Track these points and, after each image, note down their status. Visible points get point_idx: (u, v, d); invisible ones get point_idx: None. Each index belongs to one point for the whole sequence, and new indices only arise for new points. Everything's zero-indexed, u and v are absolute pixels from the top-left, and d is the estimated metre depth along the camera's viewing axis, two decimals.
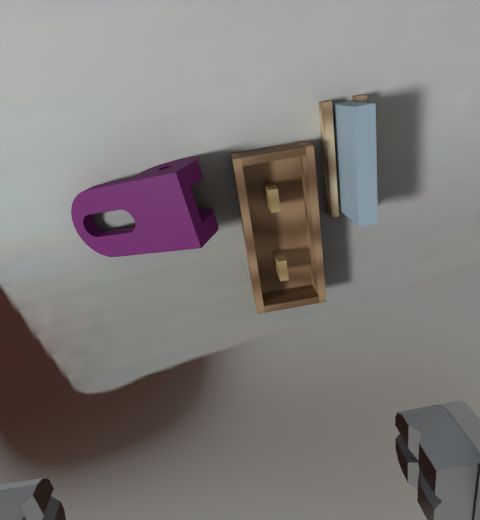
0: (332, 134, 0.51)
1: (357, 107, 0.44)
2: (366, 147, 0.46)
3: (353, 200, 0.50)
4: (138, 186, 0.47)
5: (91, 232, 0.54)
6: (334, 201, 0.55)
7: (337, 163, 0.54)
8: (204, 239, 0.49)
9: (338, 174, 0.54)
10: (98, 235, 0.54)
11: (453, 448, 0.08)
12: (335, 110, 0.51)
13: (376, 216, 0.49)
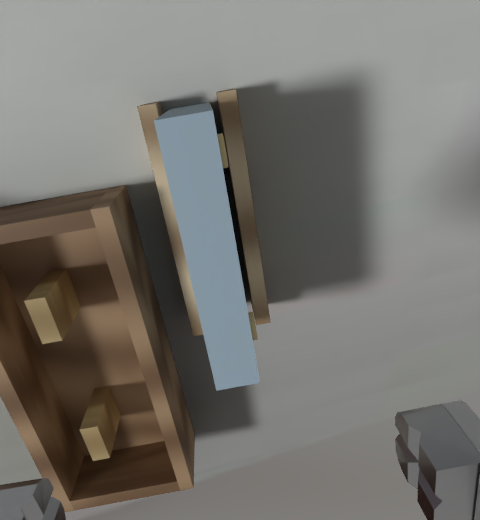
0: None
1: (163, 122, 0.16)
2: (206, 221, 0.18)
3: None
4: None
5: None
6: (194, 306, 0.27)
7: None
8: None
9: None
10: None
11: (453, 448, 0.08)
12: None
13: (254, 369, 0.21)
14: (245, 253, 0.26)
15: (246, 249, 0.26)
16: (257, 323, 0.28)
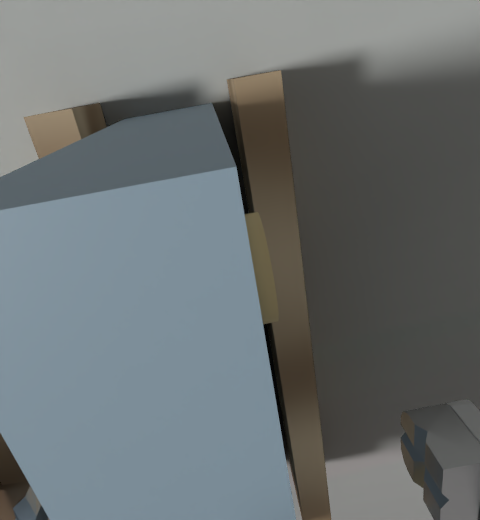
0: None
1: None
2: None
3: None
4: None
5: None
6: None
7: None
8: None
9: None
10: None
11: (459, 447, 0.08)
12: None
13: None
14: (289, 418, 0.12)
15: (291, 411, 0.12)
16: None
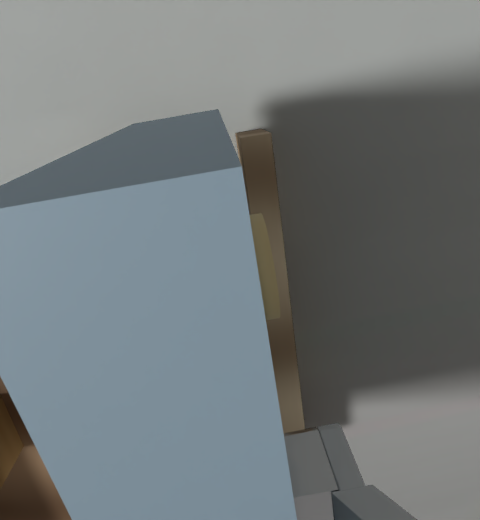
0: None
1: None
2: None
3: None
4: None
5: None
6: None
7: None
8: None
9: None
10: None
11: (312, 474, 0.08)
12: None
13: None
14: (276, 381, 0.16)
15: (278, 376, 0.16)
16: None
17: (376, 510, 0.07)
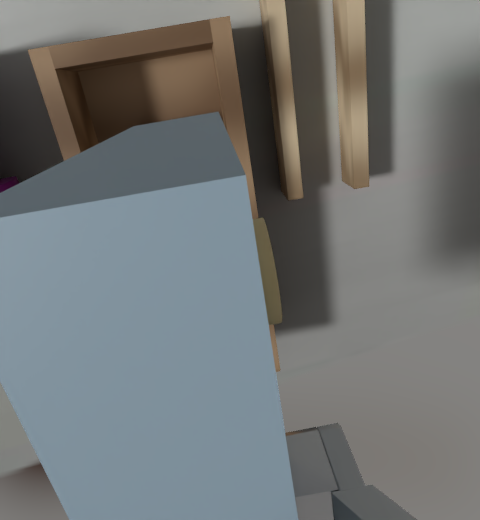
0: (281, 2, 0.22)
1: None
2: None
3: None
4: None
5: None
6: (293, 164, 0.25)
7: None
8: None
9: None
10: None
11: (312, 474, 0.08)
12: None
13: None
14: (351, 101, 0.24)
15: (353, 96, 0.24)
16: (355, 187, 0.26)
17: (376, 510, 0.07)
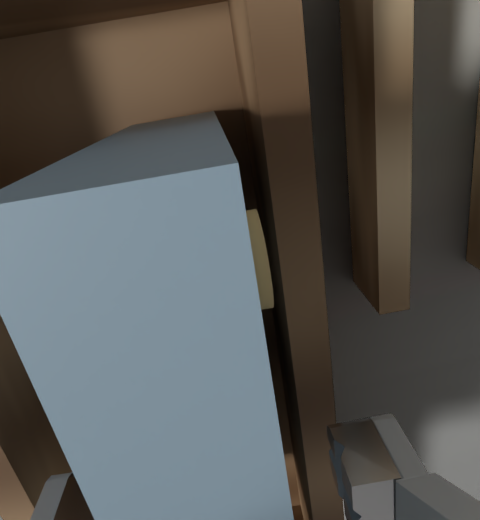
0: None
1: (4, 219, 0.03)
2: None
3: None
4: None
5: None
6: (396, 247, 0.12)
7: None
8: None
9: None
10: None
11: (372, 463, 0.08)
12: None
13: None
14: None
15: None
16: None
17: (443, 498, 0.07)
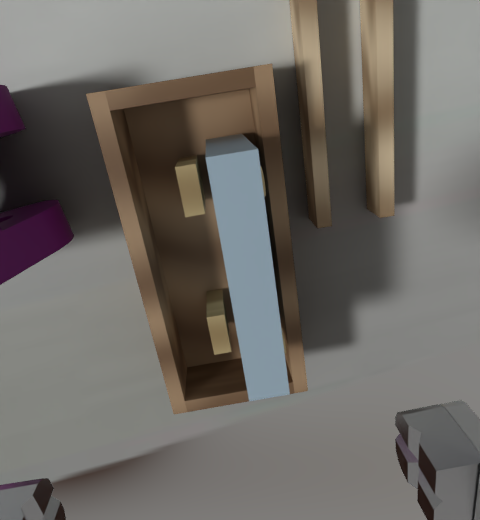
0: (316, 48, 0.24)
1: (214, 159, 0.18)
2: (247, 246, 0.20)
3: None
4: None
5: None
6: (323, 194, 0.27)
7: None
8: (7, 269, 0.21)
9: None
10: None
11: (453, 448, 0.08)
12: None
13: (285, 381, 0.23)
14: (379, 137, 0.26)
15: (381, 132, 0.26)
16: (381, 216, 0.28)
17: None
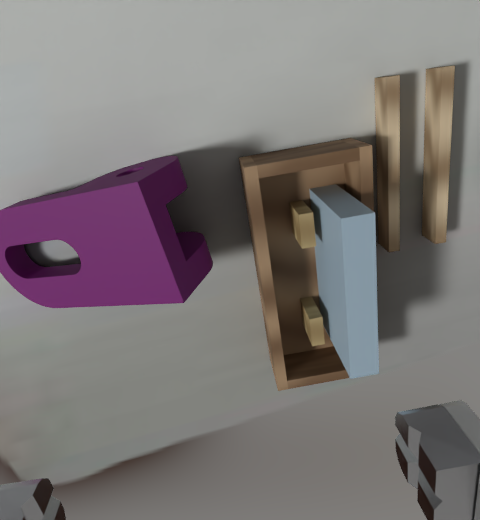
0: (397, 127, 0.33)
1: (346, 219, 0.28)
2: (361, 274, 0.30)
3: (342, 338, 0.34)
4: (80, 204, 0.29)
5: (20, 271, 0.36)
6: (394, 228, 0.36)
7: (320, 270, 0.37)
8: (189, 287, 0.31)
9: (322, 285, 0.38)
10: (30, 276, 0.35)
11: (453, 448, 0.08)
12: (315, 201, 0.34)
13: (376, 364, 0.33)
14: (438, 187, 0.35)
15: (439, 183, 0.35)
16: (436, 242, 0.37)
17: None
